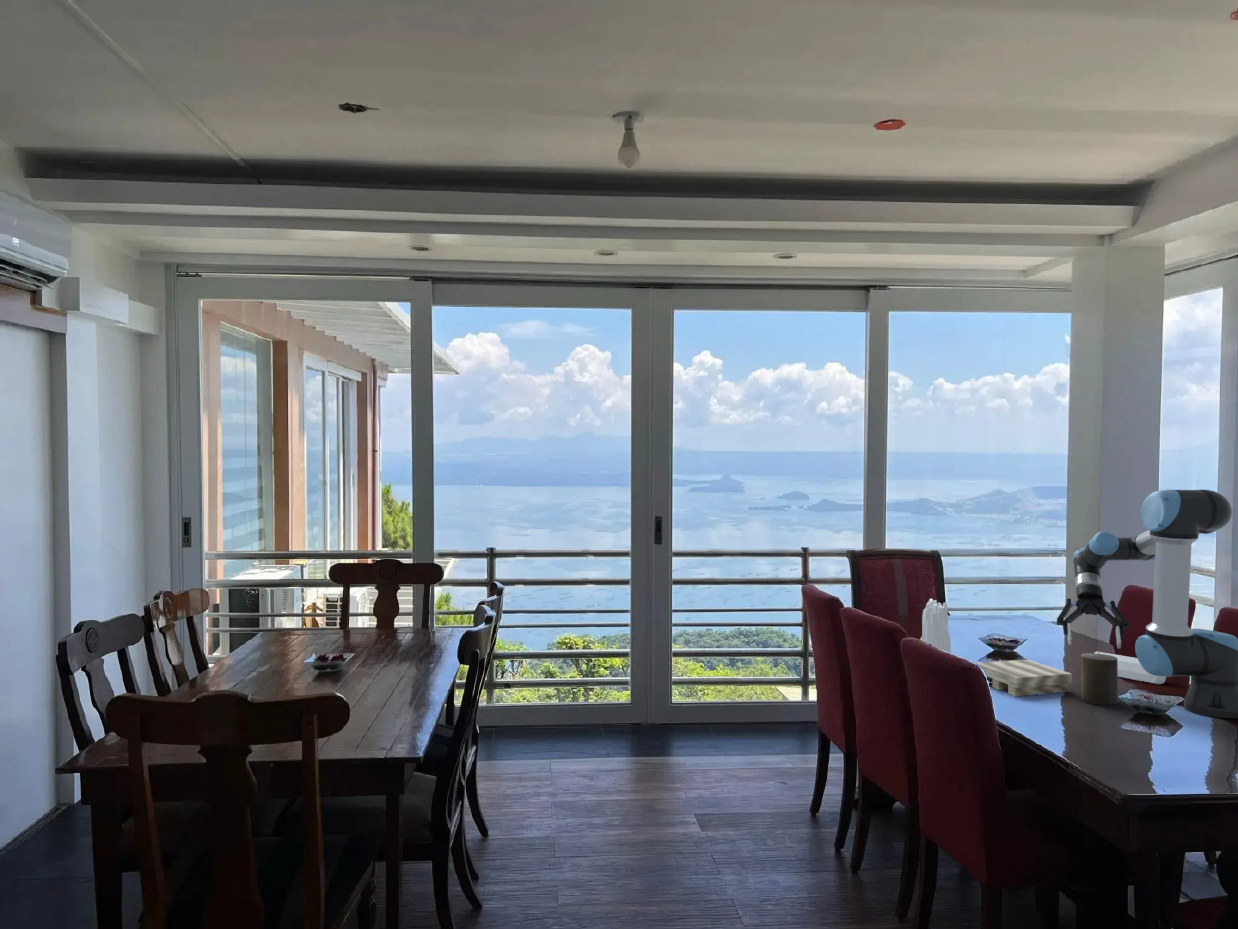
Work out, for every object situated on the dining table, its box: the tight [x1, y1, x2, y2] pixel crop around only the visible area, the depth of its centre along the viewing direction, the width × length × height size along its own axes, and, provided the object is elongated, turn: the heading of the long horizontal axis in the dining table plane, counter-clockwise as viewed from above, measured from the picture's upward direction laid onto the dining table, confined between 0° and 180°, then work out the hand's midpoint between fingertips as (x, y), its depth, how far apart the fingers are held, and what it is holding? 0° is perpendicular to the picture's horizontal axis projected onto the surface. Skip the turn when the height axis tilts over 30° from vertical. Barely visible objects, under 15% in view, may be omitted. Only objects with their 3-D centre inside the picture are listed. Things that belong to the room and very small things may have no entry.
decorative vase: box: [919, 598, 952, 654], centre depth 291 cm, size 11×11×25 cm
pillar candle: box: [1080, 651, 1119, 706], centre depth 253 cm, size 10×10×15 cm
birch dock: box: [975, 659, 1073, 697], centre depth 270 cm, size 20×20×6 cm
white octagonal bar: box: [1094, 650, 1167, 685], centre depth 281 cm, size 7×7×24 cm
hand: (1094, 644), depth 262 cm, fingers open, 13 cm apart
